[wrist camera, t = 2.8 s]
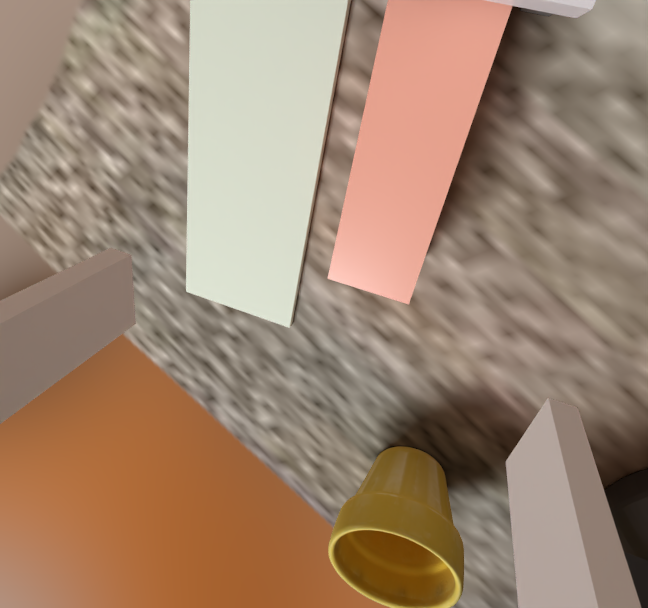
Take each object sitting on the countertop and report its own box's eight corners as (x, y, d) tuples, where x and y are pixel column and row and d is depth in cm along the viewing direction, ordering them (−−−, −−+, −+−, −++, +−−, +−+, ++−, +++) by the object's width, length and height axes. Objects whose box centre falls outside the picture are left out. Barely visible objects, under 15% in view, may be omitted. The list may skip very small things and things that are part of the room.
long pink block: (421, 259, 30) (408, 304, 24) (355, 239, 31) (327, 278, 25) (551, -121, 19) (586, -206, 13) (446, -135, 20) (436, -222, 14)
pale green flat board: (292, 324, 36) (289, 327, 35) (189, 288, 37) (186, 291, 37) (355, -22, 23) (352, -24, 23) (196, -53, 25) (191, -55, 24)
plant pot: (366, 502, 44) (341, 600, 36) (346, 427, 40) (313, 519, 31) (469, 514, 40) (469, 627, 32) (460, 433, 36) (456, 539, 28)
